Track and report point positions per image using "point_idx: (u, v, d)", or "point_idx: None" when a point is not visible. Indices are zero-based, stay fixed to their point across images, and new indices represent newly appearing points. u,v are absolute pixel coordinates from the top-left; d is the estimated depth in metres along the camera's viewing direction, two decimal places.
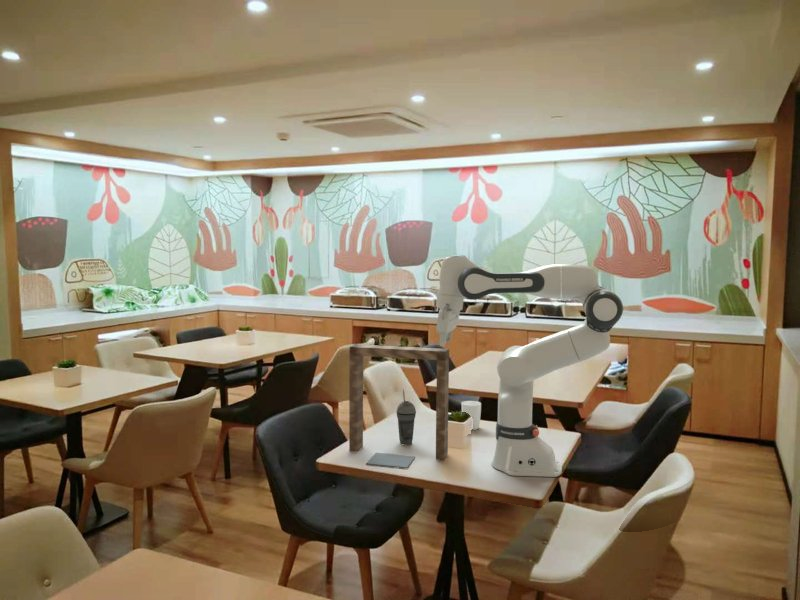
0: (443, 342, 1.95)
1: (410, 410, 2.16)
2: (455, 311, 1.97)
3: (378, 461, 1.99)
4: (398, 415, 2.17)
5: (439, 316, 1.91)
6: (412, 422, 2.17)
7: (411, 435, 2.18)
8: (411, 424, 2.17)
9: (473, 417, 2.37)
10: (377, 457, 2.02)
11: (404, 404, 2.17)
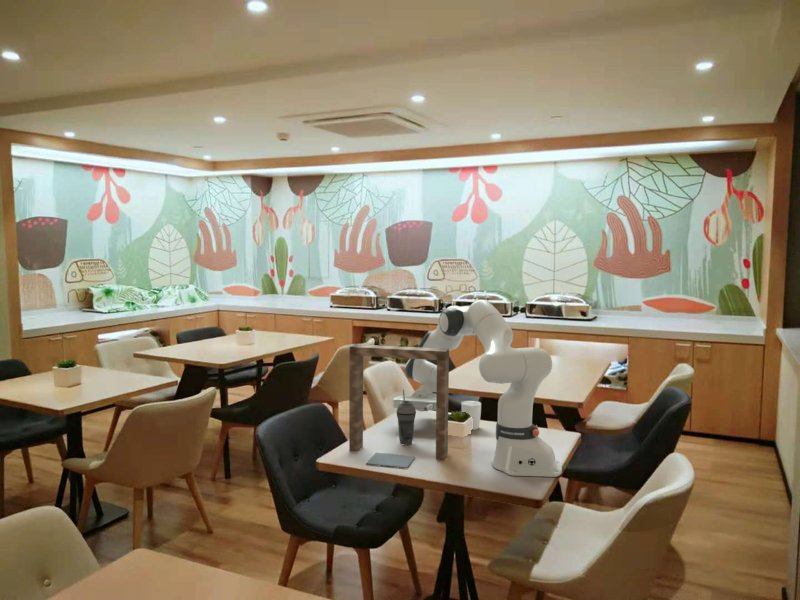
0: None
1: (410, 410, 2.16)
2: (416, 394, 2.42)
3: (378, 461, 1.99)
4: (398, 415, 2.17)
5: None
6: (412, 422, 2.17)
7: (411, 435, 2.18)
8: (411, 424, 2.17)
9: (473, 417, 2.37)
10: (377, 457, 2.02)
11: (404, 404, 2.17)
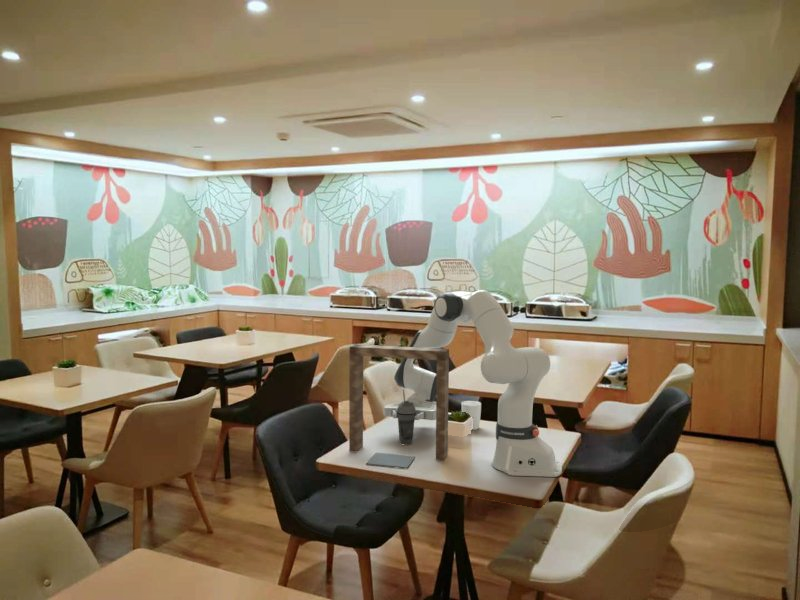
0: None
1: (411, 410, 2.16)
2: None
3: (378, 461, 1.99)
4: (398, 415, 2.17)
5: None
6: (412, 422, 2.17)
7: (411, 435, 2.18)
8: (411, 424, 2.17)
9: (473, 417, 2.37)
10: (377, 457, 2.02)
11: (404, 404, 2.17)
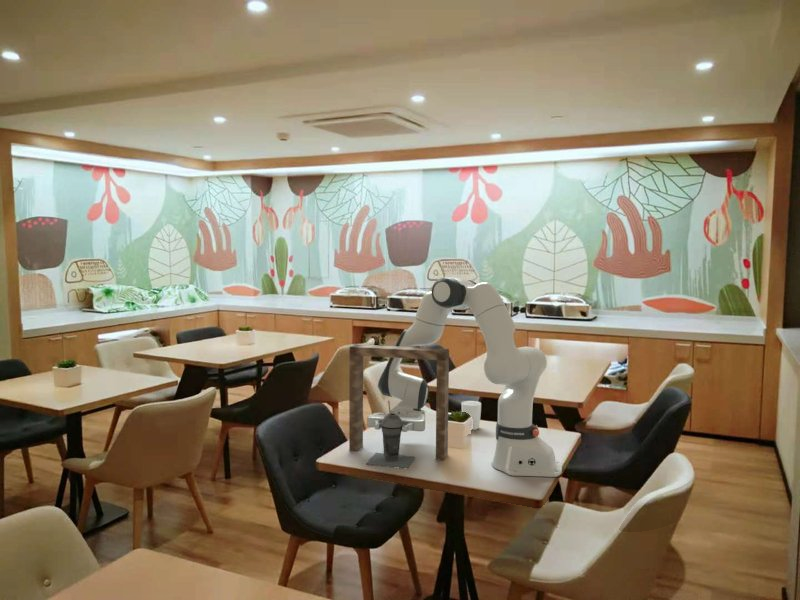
0: None
1: (396, 423, 1.97)
2: (394, 411, 2.10)
3: (378, 461, 1.99)
4: (383, 429, 1.98)
5: None
6: (398, 437, 1.98)
7: (397, 451, 1.99)
8: (397, 439, 1.98)
9: (473, 417, 2.37)
10: (377, 457, 2.02)
11: (389, 417, 1.98)
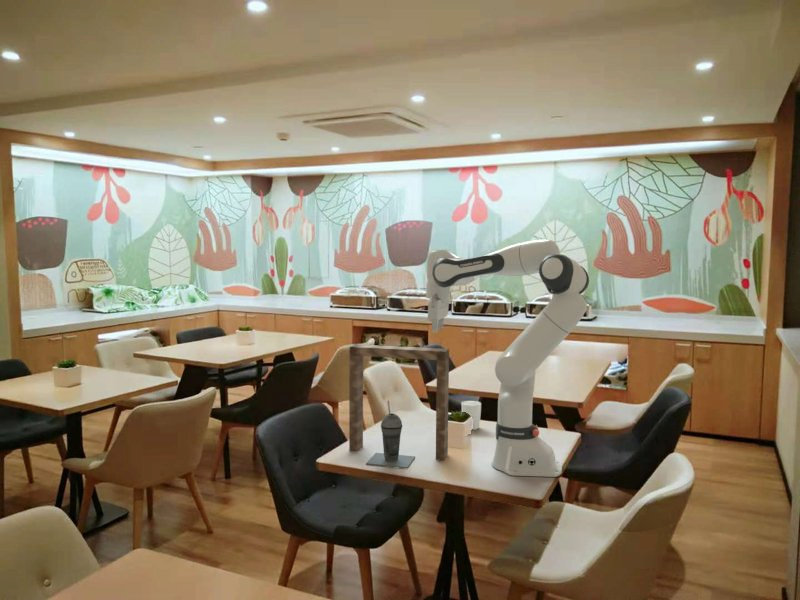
0: (435, 329, 2.15)
1: (396, 423, 1.97)
2: (444, 300, 2.18)
3: (378, 461, 1.99)
4: (382, 429, 1.98)
5: (429, 305, 2.11)
6: (398, 437, 1.98)
7: (397, 451, 1.99)
8: (397, 439, 1.98)
9: (473, 417, 2.37)
10: (377, 457, 2.02)
11: (389, 417, 1.98)
